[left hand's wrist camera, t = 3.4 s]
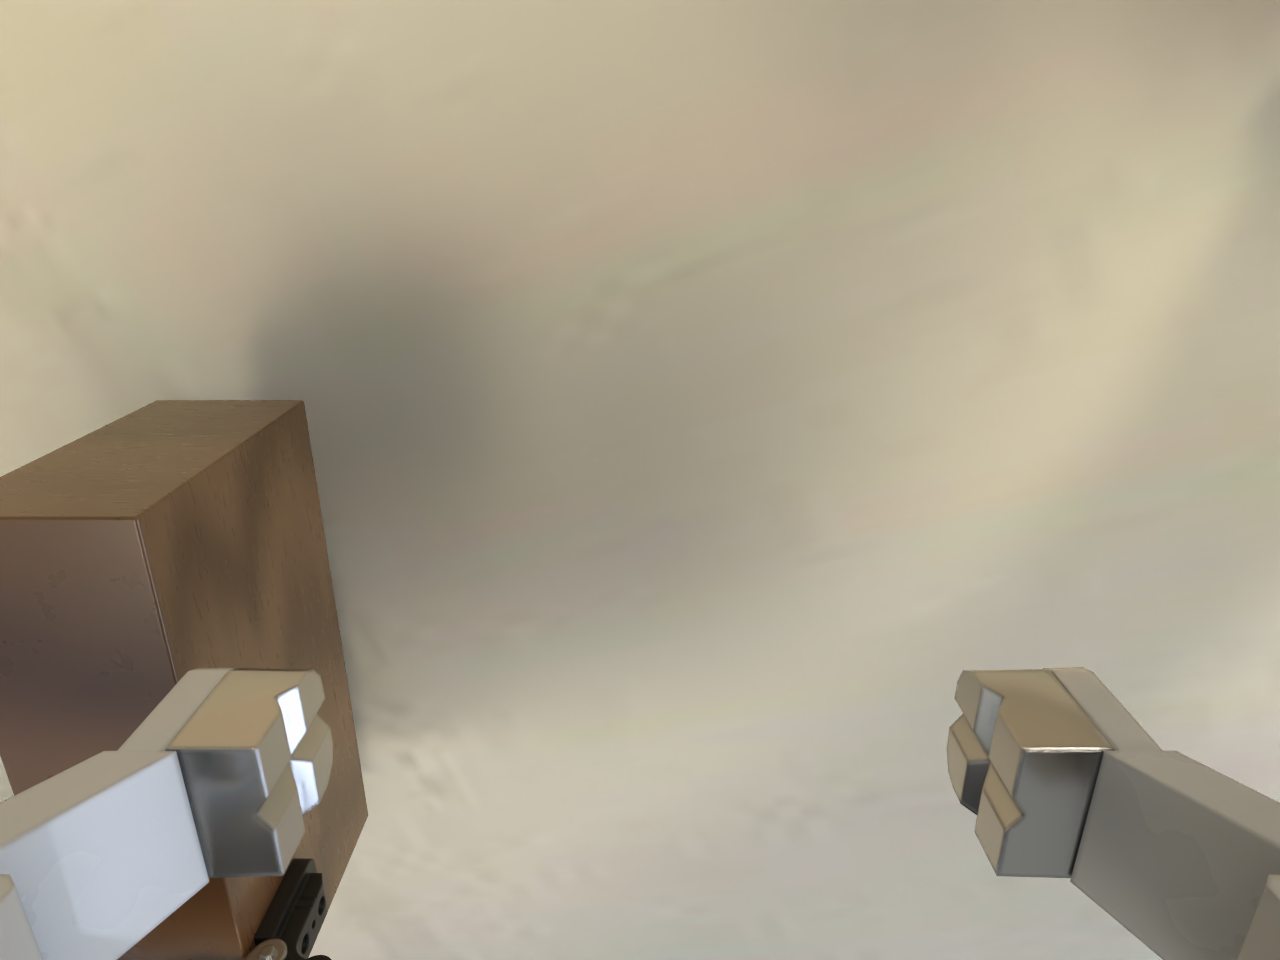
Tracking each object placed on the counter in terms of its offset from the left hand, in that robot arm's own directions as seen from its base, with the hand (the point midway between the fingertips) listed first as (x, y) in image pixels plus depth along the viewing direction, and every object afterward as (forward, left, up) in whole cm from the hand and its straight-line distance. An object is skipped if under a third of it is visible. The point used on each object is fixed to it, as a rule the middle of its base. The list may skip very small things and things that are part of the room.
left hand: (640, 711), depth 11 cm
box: (+13, -16, -22) cm, 30 cm away
